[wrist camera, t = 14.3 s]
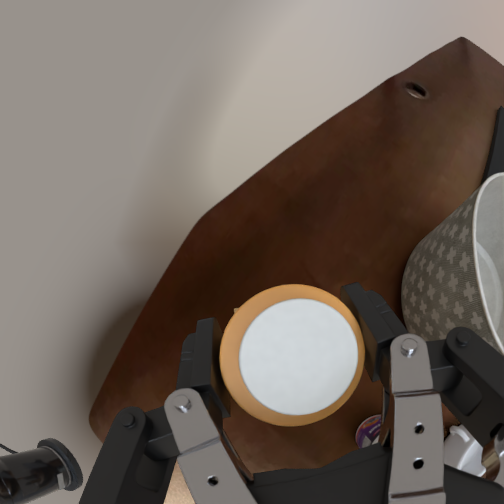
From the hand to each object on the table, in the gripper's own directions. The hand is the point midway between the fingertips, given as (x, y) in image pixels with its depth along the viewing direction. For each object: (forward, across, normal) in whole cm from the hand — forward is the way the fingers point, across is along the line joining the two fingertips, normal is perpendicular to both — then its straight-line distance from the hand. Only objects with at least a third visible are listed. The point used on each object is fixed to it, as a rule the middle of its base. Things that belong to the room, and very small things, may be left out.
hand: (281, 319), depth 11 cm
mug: (-2, -22, +34) cm, 41 cm away
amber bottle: (+3, 0, +6) cm, 7 cm away
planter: (+14, -24, +18) cm, 33 cm away
